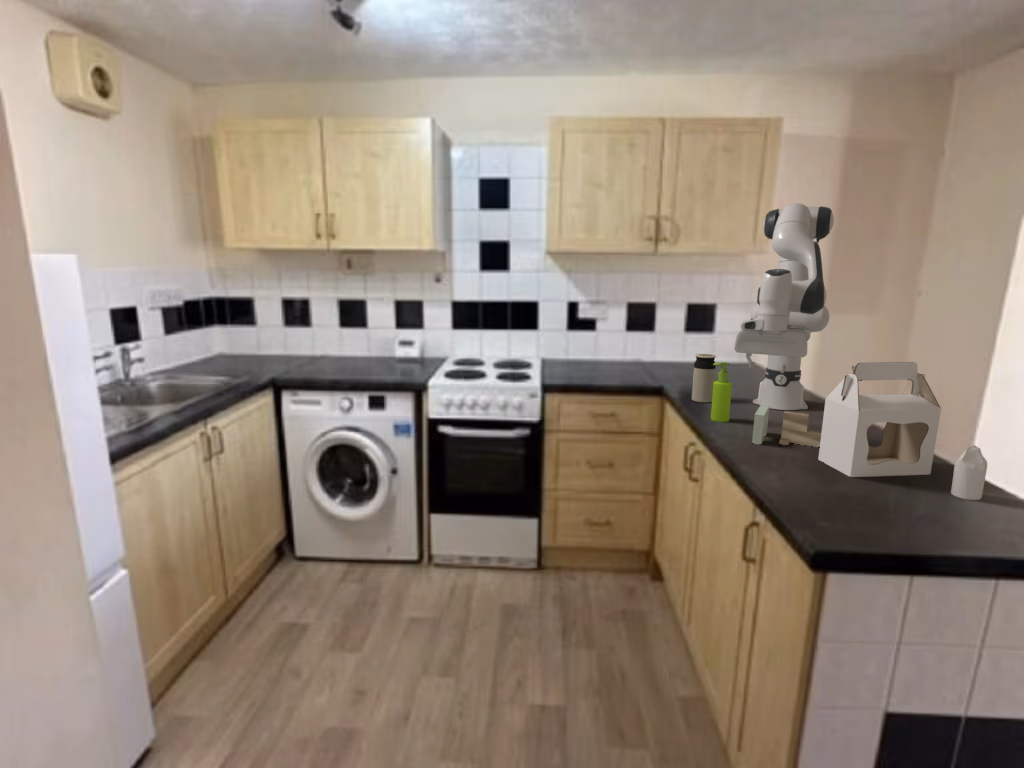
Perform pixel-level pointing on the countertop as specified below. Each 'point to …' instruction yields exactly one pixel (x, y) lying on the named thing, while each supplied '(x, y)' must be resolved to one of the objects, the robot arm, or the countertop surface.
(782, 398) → the robot arm
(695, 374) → the travel mug
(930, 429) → the gable box
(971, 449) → the white plastic bottle
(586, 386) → the countertop surface
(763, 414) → the grey-green rectangular slab
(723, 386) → the soap dispenser
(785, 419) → the wooden peg bench
